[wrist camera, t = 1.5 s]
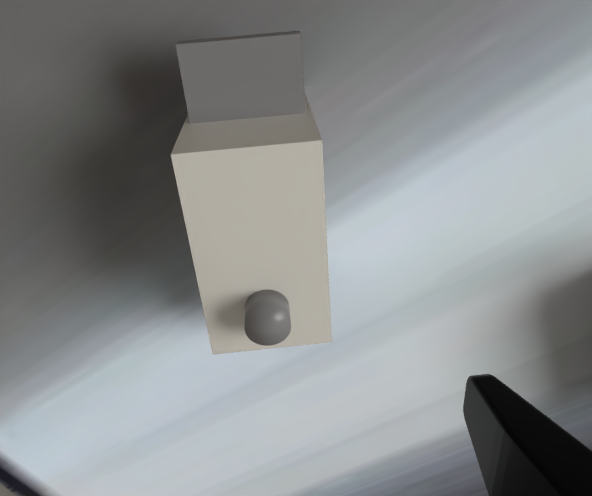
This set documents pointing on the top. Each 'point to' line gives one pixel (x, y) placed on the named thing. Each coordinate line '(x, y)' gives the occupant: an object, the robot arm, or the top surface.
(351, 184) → the top surface
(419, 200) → the top surface
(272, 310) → the block
